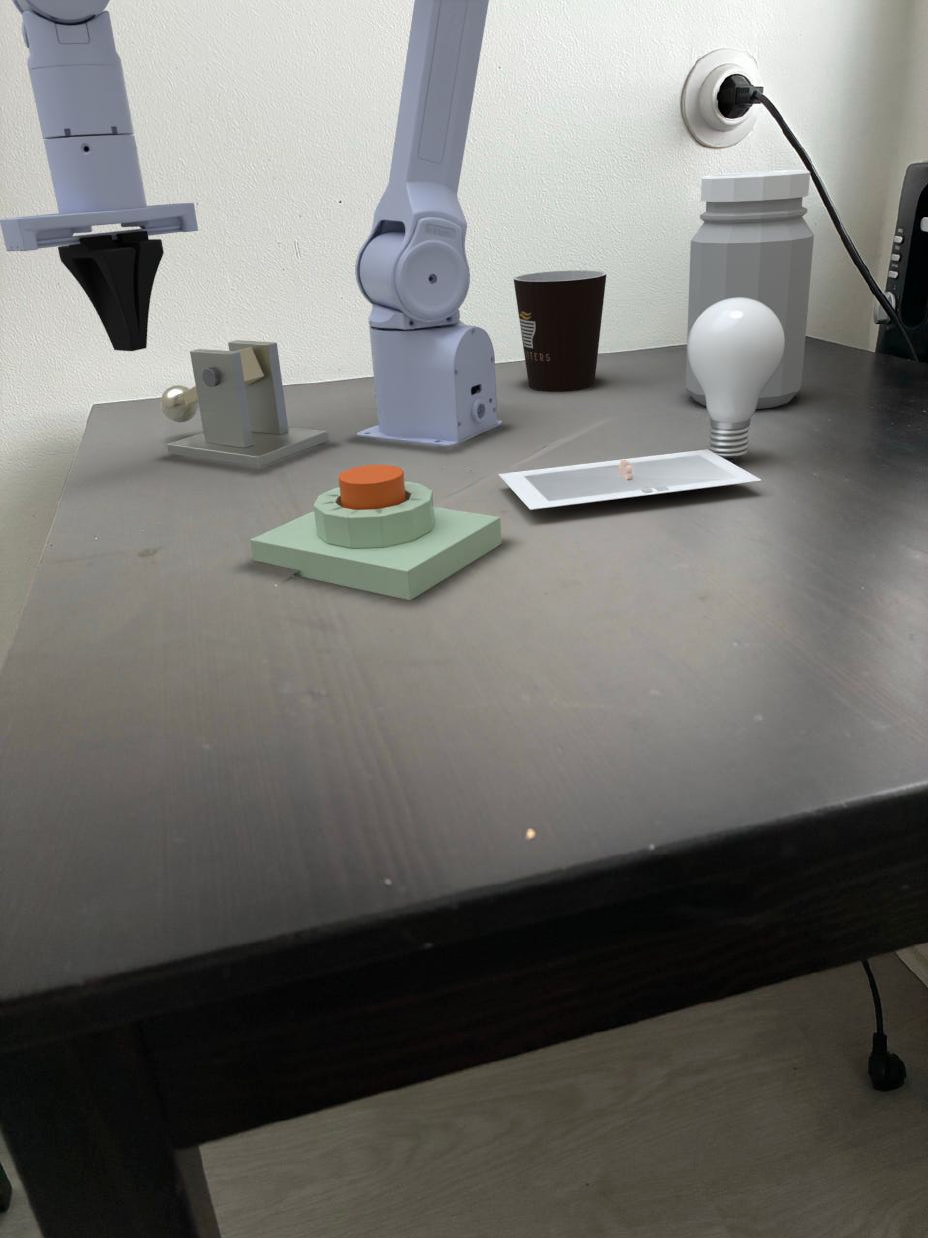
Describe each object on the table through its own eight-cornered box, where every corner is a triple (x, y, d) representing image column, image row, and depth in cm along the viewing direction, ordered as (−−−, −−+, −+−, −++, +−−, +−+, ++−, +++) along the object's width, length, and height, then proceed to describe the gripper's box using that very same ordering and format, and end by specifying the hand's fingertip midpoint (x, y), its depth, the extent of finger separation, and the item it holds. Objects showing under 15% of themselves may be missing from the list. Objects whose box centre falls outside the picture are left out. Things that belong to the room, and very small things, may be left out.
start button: (418, 498, 56) (416, 468, 55) (379, 517, 53) (376, 486, 53) (368, 490, 58) (365, 461, 57) (328, 509, 55) (324, 478, 55)
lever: (163, 430, 82) (147, 396, 82) (190, 422, 85) (175, 388, 84) (242, 386, 75) (225, 348, 75) (269, 378, 78) (253, 341, 77)
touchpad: (498, 489, 67) (497, 458, 66) (706, 464, 69) (708, 434, 69) (530, 526, 60) (529, 492, 59) (760, 497, 62) (763, 463, 62)
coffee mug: (611, 390, 93) (611, 277, 88) (518, 395, 93) (514, 283, 89) (597, 367, 103) (597, 265, 99) (514, 371, 103) (511, 270, 99)
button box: (501, 544, 57) (499, 486, 56) (410, 601, 51) (404, 537, 49) (354, 519, 63) (348, 465, 62) (254, 567, 56) (244, 508, 55)
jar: (663, 396, 89) (668, 177, 82) (752, 382, 92) (765, 169, 85) (730, 417, 81) (744, 175, 73) (826, 400, 84) (848, 167, 77)
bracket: (168, 458, 79) (149, 352, 76) (240, 434, 85) (225, 335, 82) (260, 472, 74) (243, 359, 71) (329, 445, 80) (317, 340, 77)
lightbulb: (779, 450, 72) (794, 291, 67) (767, 476, 66) (782, 305, 62) (691, 445, 74) (699, 290, 69) (673, 469, 69) (680, 304, 64)
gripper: (136, 139, 73) (170, 330, 78) (-48, 144, 62) (6, 365, 68) (204, 133, 69) (234, 333, 75) (20, 136, 58) (71, 370, 64)
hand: (130, 349), depth 71 cm, fingers closed
